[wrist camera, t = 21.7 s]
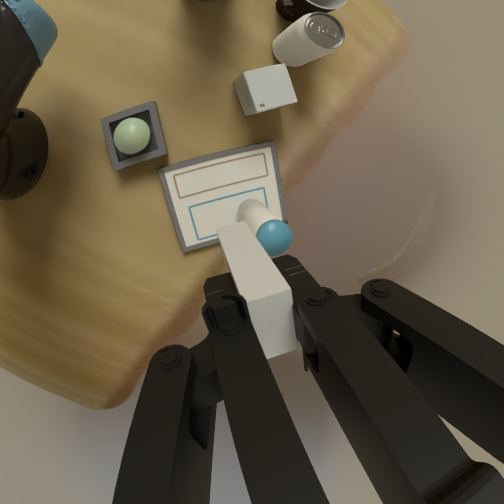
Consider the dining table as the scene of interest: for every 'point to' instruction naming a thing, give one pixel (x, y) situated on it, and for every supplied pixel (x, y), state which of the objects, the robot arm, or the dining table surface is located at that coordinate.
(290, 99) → the product box
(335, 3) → the coffee mug
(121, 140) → the button
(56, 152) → the dining table surface
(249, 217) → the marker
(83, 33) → the dining table surface
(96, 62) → the dining table surface
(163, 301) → the dining table surface
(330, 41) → the can
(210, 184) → the picture board
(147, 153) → the button box
